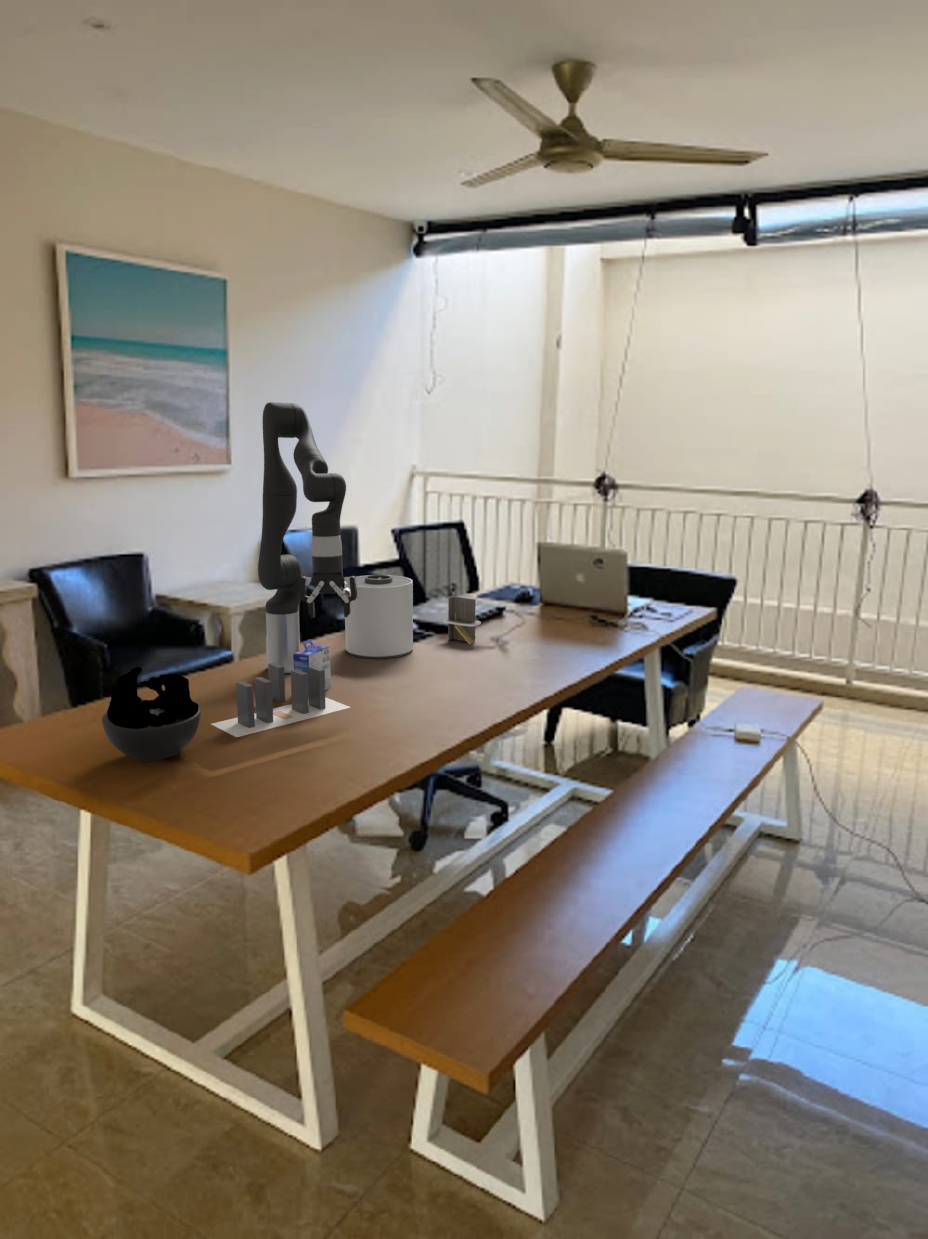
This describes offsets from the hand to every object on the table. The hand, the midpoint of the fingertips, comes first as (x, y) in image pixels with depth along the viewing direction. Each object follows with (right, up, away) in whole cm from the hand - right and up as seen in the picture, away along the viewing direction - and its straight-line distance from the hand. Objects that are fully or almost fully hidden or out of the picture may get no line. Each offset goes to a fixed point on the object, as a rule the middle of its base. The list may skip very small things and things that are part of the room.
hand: (329, 617), depth 232 cm
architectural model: (+33, -8, +66) cm, 74 cm away
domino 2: (-13, -25, -14) cm, 31 cm away
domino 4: (-6, -23, -7) cm, 25 cm away
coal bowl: (-32, -31, -35) cm, 57 cm away
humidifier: (+6, -11, +53) cm, 54 cm away
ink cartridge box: (-6, -21, +9) cm, 23 cm away
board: (-10, -25, -10) cm, 29 cm away
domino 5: (-3, -22, -4) cm, 23 cm away
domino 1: (-17, -25, -17) cm, 35 cm away
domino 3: (-14, -22, +2) cm, 26 cm away
